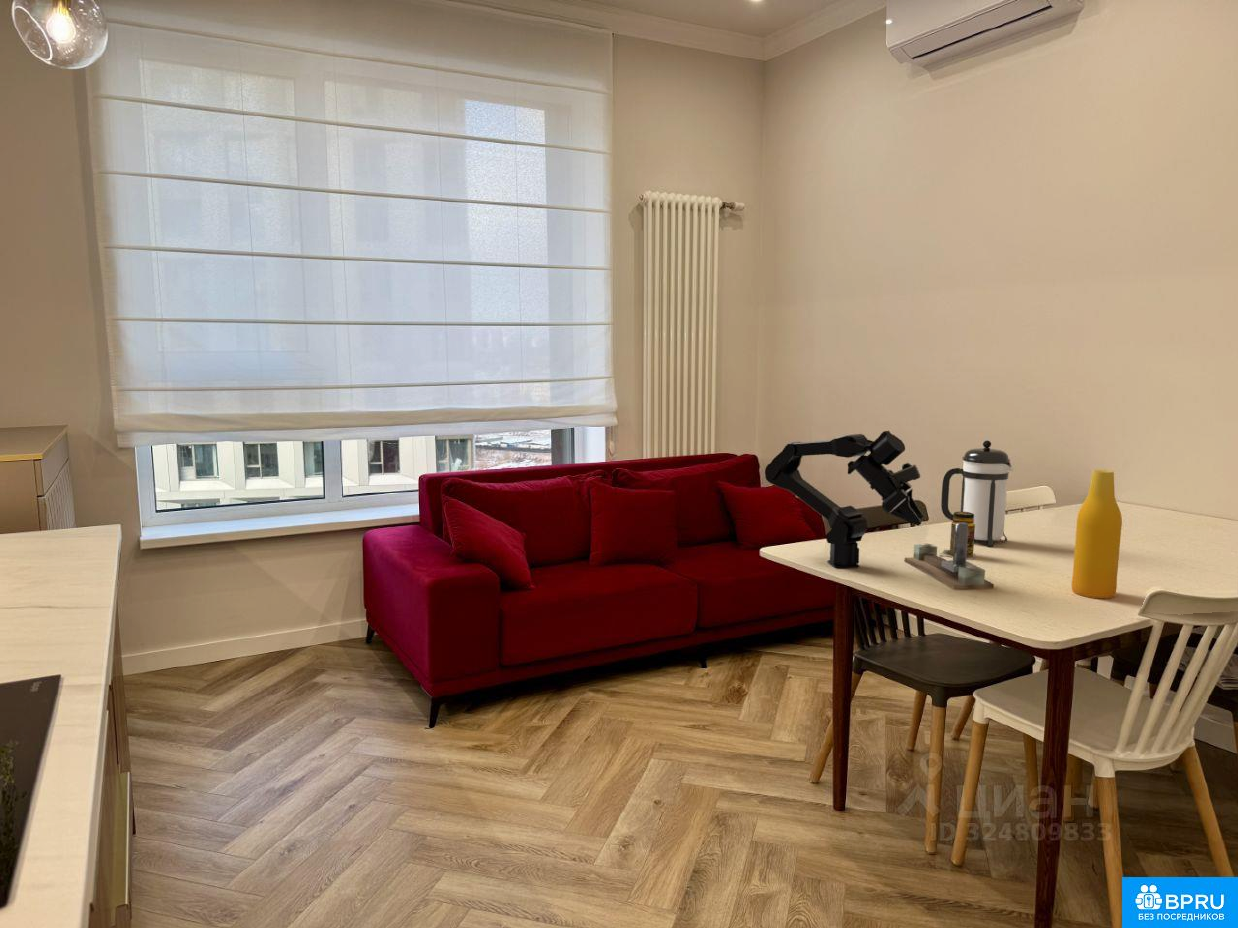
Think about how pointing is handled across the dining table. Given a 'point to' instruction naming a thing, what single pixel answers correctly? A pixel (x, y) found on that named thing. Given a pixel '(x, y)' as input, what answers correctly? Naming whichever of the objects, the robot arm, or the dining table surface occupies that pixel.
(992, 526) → the coffee press
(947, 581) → the board
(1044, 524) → the dining table surface
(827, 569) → the dining table surface
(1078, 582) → the beer bottle
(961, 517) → the condiment
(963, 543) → the carriage
